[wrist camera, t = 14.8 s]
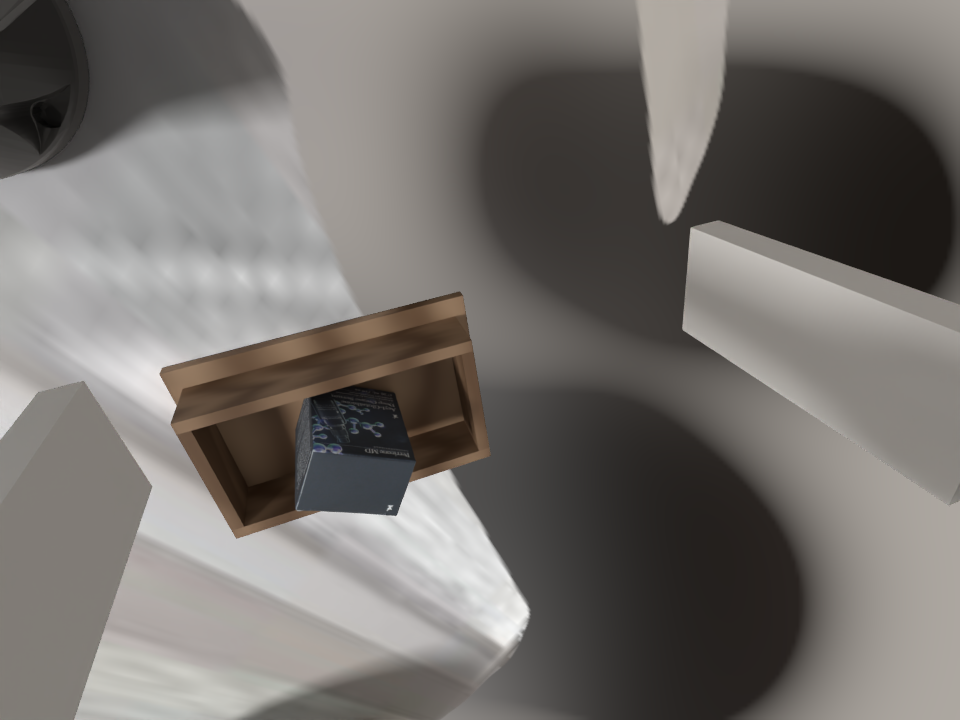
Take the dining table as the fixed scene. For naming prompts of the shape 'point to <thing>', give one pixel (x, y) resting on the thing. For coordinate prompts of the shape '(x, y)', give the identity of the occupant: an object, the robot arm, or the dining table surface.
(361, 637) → the dining table surface
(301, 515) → the tray
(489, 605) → the dining table surface
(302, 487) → the box
